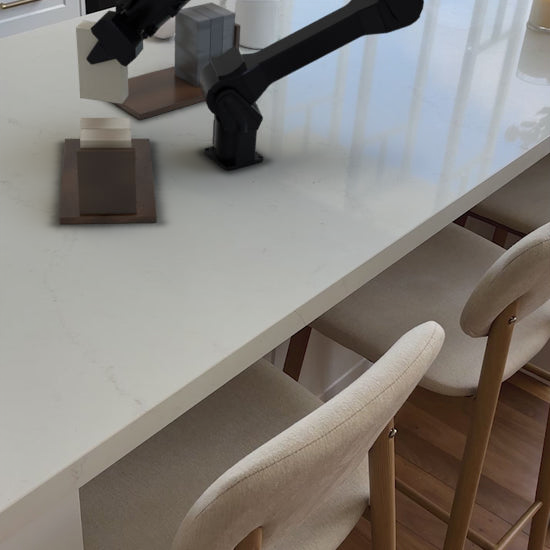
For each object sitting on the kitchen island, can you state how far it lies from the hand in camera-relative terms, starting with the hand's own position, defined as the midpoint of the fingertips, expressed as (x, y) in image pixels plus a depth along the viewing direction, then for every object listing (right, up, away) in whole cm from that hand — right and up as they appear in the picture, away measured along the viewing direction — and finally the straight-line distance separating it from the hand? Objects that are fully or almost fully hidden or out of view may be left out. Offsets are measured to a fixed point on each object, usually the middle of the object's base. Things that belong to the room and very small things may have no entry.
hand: (93, 57), depth 120 cm
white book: (+1, -5, +3) cm, 6 cm away
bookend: (+8, +1, +26) cm, 27 cm away
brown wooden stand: (+2, -17, 0) cm, 17 cm away
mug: (+19, +15, +47) cm, 53 cm away
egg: (+4, +14, +44) cm, 47 cm away
